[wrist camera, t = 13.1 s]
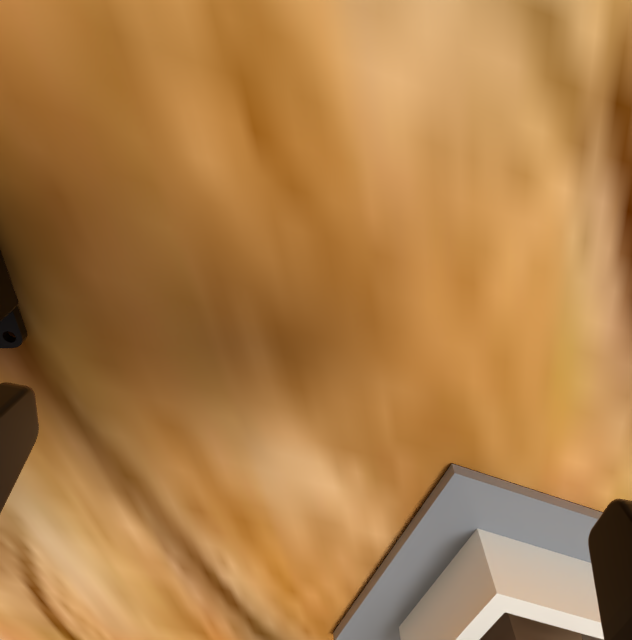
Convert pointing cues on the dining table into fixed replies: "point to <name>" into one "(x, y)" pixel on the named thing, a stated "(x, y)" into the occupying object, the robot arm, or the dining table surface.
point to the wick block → (526, 630)
